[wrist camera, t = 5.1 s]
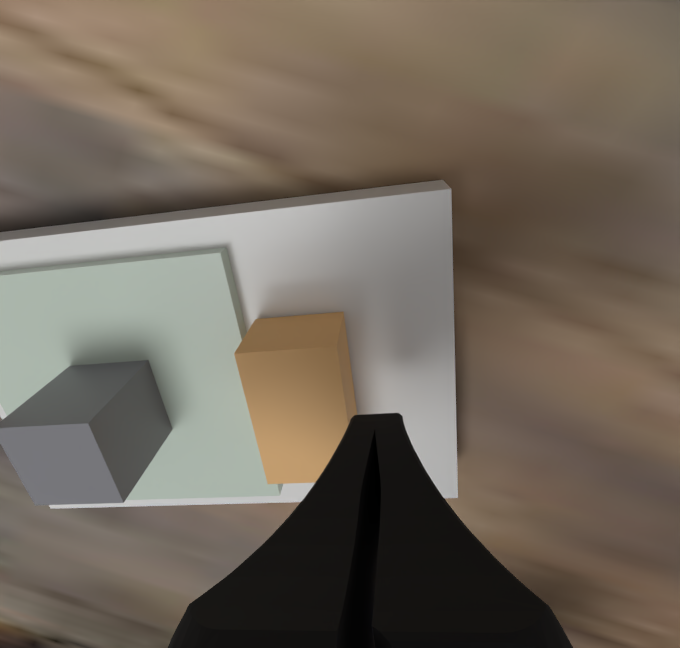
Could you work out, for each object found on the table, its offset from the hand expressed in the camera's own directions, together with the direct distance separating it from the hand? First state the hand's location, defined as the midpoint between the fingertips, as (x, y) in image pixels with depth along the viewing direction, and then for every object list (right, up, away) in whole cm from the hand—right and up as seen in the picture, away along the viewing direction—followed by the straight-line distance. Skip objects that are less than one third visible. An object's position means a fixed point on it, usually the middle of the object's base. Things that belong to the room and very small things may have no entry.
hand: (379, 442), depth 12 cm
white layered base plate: (-6, +2, +6) cm, 8 cm away
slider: (-2, +1, +3) cm, 4 cm away
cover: (-9, +1, +4) cm, 10 cm away
